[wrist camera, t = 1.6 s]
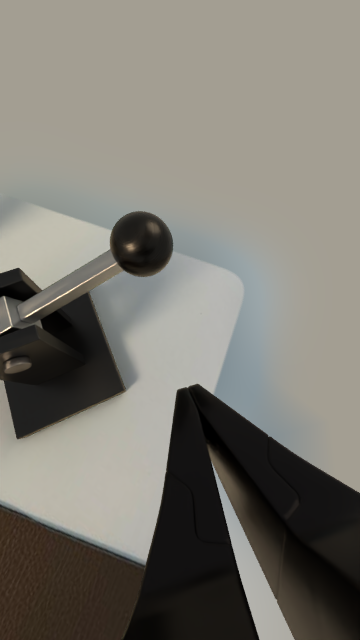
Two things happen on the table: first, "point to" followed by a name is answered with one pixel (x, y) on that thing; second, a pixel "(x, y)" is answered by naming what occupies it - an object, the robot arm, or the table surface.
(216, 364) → the table surface
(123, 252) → the ball knob lever
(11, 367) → the lever base
